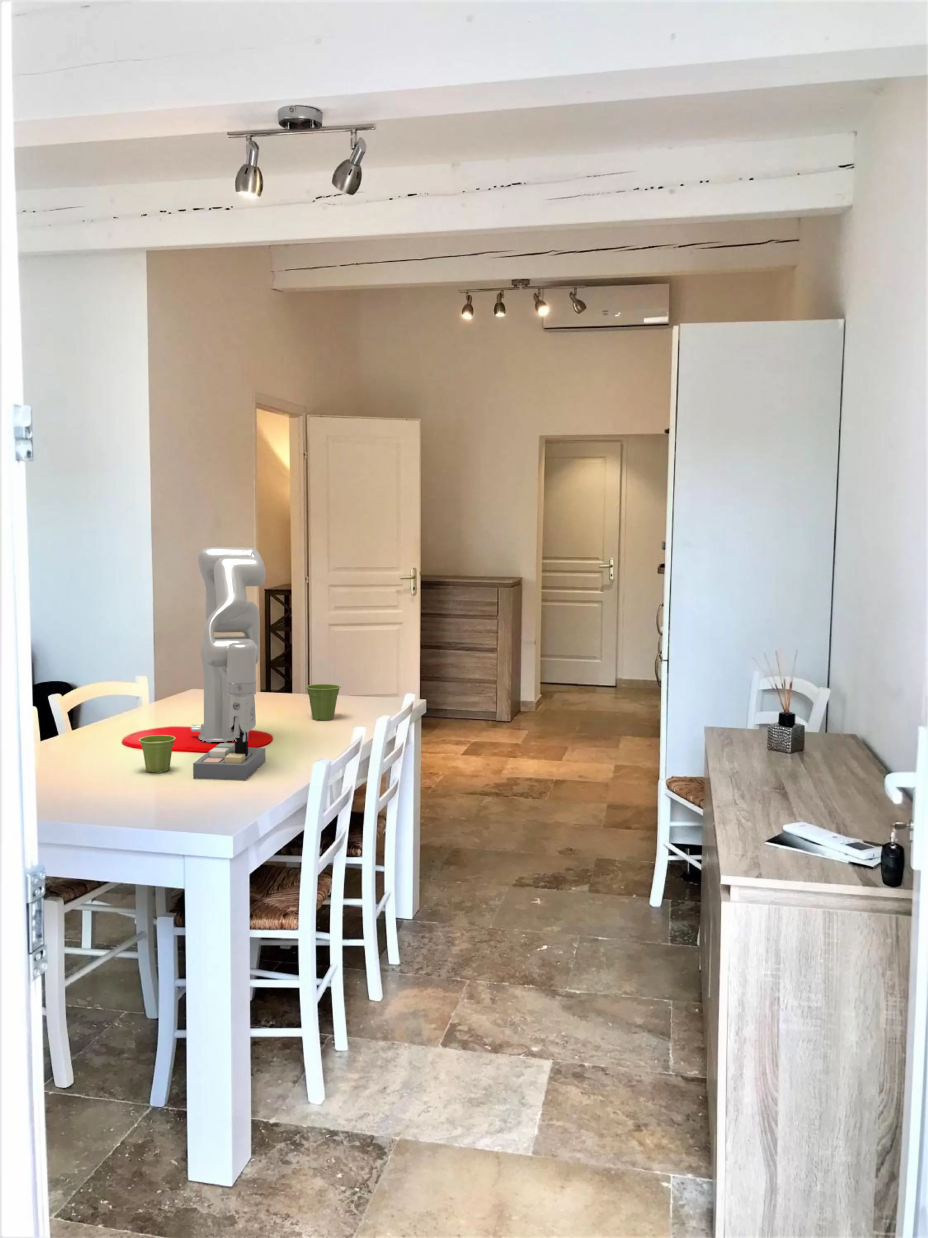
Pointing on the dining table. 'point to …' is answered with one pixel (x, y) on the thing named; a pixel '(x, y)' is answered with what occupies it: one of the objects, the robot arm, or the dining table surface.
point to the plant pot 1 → (157, 752)
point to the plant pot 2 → (323, 700)
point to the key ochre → (235, 758)
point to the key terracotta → (213, 760)
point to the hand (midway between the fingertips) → (241, 755)
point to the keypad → (229, 766)
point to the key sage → (227, 746)
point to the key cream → (219, 752)
